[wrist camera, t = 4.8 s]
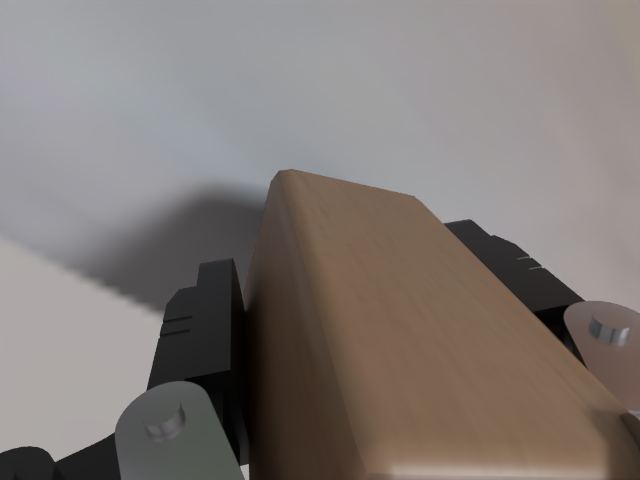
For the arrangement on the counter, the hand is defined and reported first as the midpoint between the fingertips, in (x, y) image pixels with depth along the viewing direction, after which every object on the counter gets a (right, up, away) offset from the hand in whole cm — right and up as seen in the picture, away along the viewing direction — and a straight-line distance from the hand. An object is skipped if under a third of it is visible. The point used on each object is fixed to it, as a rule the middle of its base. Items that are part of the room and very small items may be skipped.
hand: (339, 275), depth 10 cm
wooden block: (0, +1, +1) cm, 2 cm away
